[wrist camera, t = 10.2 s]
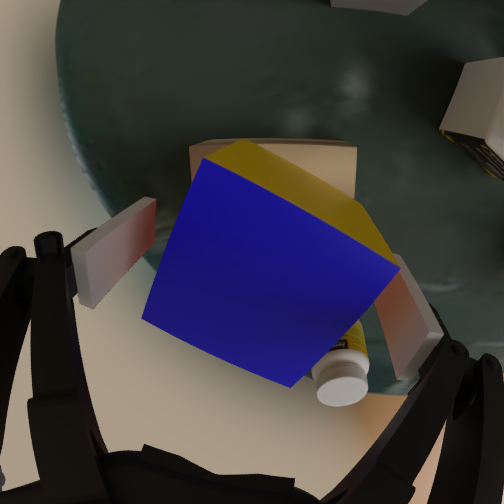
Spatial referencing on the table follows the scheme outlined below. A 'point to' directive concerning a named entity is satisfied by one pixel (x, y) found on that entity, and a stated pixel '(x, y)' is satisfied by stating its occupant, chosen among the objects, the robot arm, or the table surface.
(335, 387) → the supplement bottle
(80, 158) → the table surface
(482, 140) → the medicine bottle
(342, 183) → the oak block
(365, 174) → the table surface
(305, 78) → the table surface
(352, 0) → the grey block
